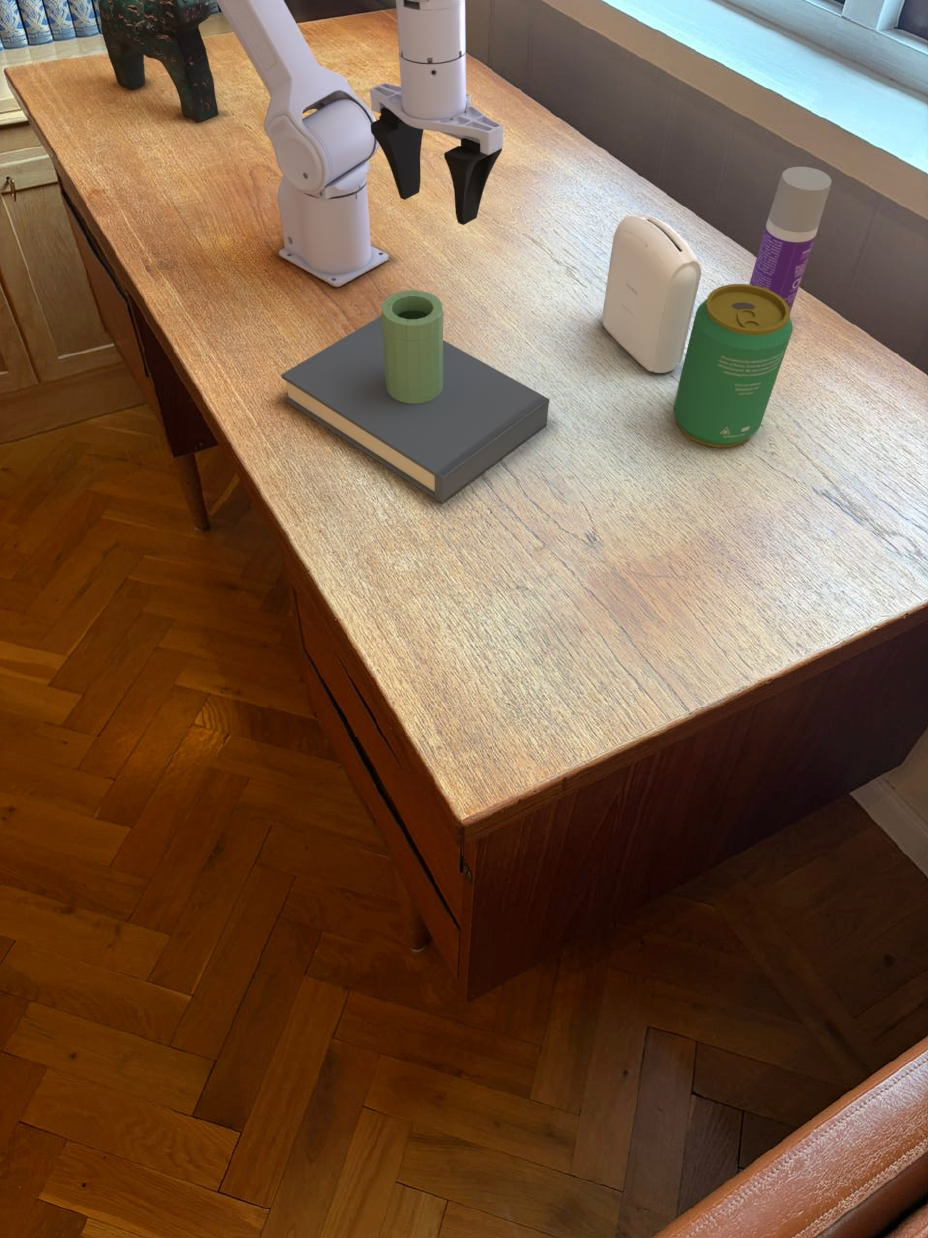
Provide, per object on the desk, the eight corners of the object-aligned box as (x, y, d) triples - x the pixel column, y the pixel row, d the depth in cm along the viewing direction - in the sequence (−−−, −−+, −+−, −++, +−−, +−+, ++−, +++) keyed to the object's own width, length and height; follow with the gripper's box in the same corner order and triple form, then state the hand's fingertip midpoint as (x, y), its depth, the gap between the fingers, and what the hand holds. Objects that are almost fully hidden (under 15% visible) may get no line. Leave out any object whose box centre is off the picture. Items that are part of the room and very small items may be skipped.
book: (285, 401, 87) (280, 374, 85) (391, 336, 94) (389, 310, 91) (443, 504, 79) (442, 477, 77) (546, 425, 86) (549, 398, 83)
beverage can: (748, 394, 89) (784, 279, 79) (767, 450, 84) (808, 335, 74) (664, 394, 89) (691, 279, 79) (678, 450, 84) (708, 335, 74)
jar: (374, 386, 84) (368, 307, 78) (414, 361, 86) (411, 282, 80) (414, 411, 82) (412, 332, 75) (454, 385, 84) (455, 306, 78)
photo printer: (594, 323, 96) (611, 205, 86) (630, 313, 97) (650, 196, 87) (649, 379, 90) (674, 261, 80) (686, 368, 91) (715, 250, 82)
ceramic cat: (233, 116, 124) (204, -65, 108) (195, 132, 121) (158, -52, 105) (140, 73, 132) (100, -101, 116) (102, 87, 129) (55, -90, 113)
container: (785, 338, 95) (834, 193, 83) (739, 332, 95) (780, 187, 83) (785, 312, 98) (832, 168, 86) (739, 306, 98) (780, 162, 86)
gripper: (527, 58, 79) (522, 215, 89) (404, 19, 85) (412, 170, 95) (471, 83, 75) (473, 244, 86) (347, 41, 82) (363, 195, 92)
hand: (438, 207), depth 90 cm, fingers open, 7 cm apart
